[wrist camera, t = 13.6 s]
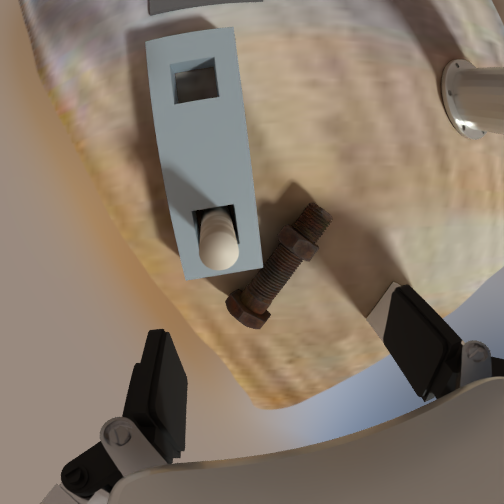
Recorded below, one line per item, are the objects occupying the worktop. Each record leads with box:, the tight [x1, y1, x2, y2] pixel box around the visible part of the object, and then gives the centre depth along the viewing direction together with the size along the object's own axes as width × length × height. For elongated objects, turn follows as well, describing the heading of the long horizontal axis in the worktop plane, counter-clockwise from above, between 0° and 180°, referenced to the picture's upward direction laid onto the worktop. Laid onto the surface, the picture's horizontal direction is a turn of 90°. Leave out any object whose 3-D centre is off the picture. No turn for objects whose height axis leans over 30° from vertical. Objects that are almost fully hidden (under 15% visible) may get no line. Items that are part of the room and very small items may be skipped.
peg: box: [199, 205, 239, 270], centre depth 26 cm, size 3×3×10 cm
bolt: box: [225, 203, 332, 329], centre depth 31 cm, size 6×5×15 cm
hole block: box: [145, 27, 263, 280], centre depth 26 cm, size 24×8×4 cm, turn 7°
